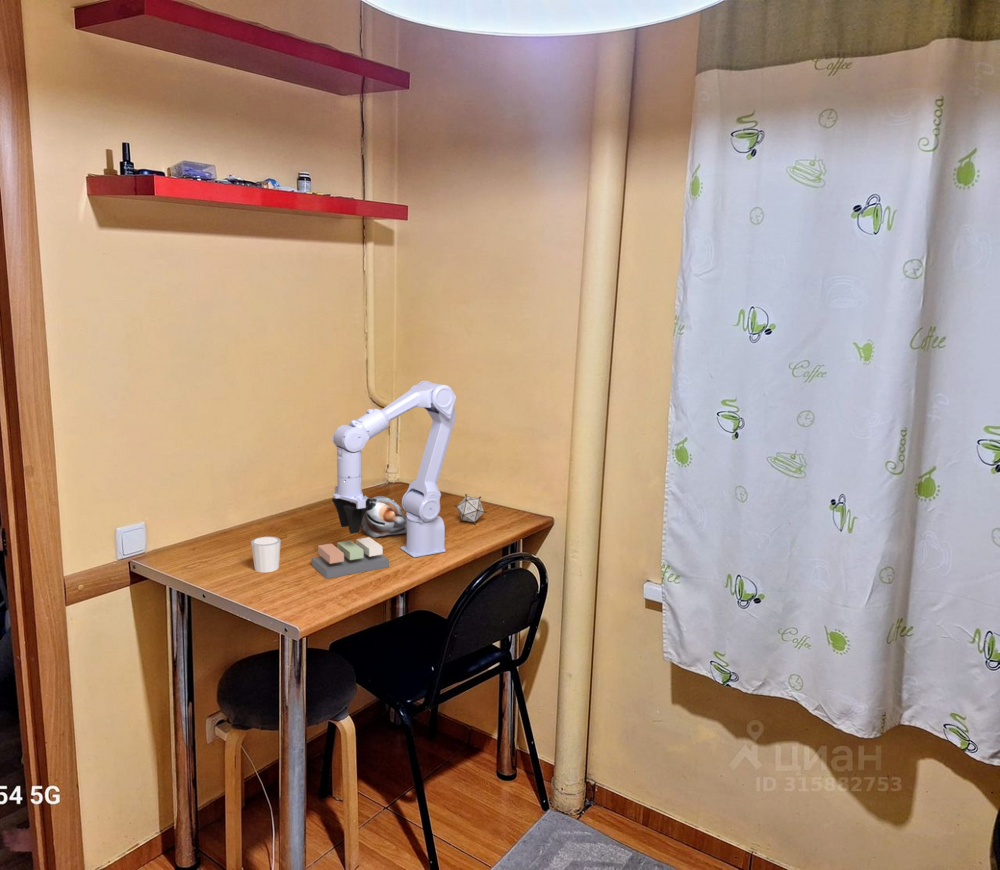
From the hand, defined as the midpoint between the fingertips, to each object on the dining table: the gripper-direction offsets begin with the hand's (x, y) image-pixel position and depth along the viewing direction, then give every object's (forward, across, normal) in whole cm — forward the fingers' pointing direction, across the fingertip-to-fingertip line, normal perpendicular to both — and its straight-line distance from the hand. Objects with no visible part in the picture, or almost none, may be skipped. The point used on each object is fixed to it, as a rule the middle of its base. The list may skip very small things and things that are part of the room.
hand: (350, 529), depth 192 cm
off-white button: (+6, 0, +5) cm, 8 cm away
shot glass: (+10, -8, -18) cm, 22 cm away
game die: (+10, -16, +44) cm, 48 cm away
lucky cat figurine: (+10, -18, +18) cm, 28 cm away
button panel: (+9, 0, 0) cm, 9 cm away
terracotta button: (+6, 0, -5) cm, 8 cm away
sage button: (+6, 0, 0) cm, 6 cm away
